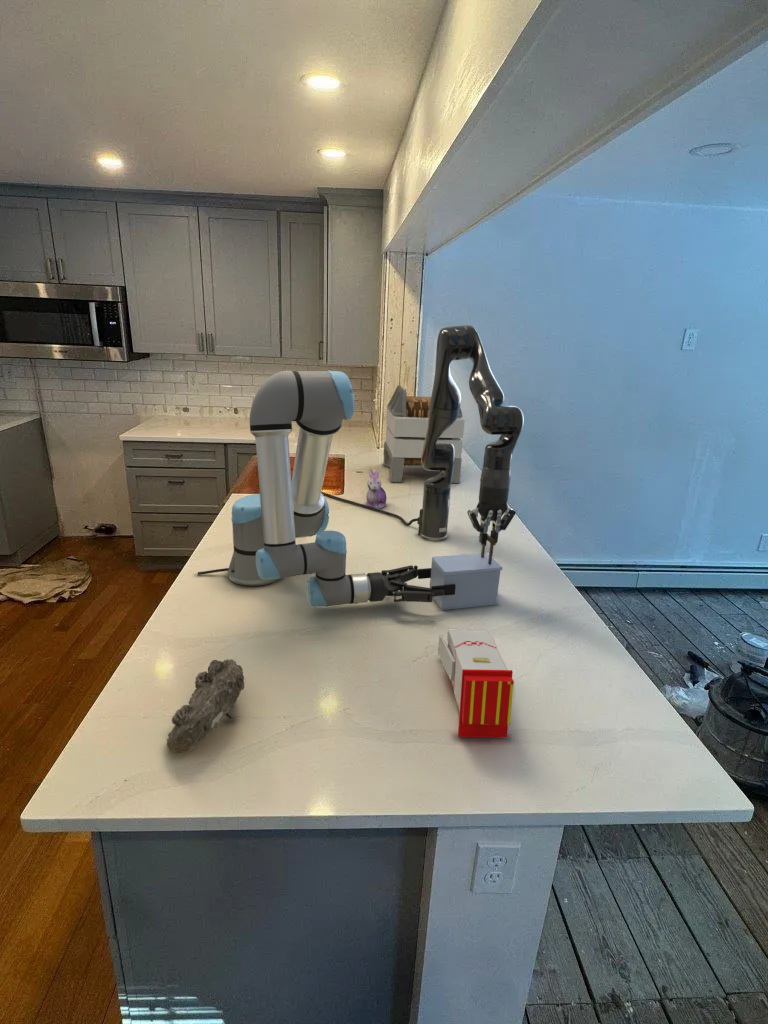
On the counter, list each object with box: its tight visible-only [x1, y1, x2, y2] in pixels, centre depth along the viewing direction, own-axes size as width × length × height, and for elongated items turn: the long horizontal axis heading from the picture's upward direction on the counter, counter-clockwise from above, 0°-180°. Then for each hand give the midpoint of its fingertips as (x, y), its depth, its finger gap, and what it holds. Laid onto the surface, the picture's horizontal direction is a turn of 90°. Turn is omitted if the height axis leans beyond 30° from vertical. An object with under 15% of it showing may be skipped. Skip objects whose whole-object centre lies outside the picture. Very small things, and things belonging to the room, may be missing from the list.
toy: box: [437, 628, 515, 738], centre depth 117 cm, size 12×13×30 cm
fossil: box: [166, 658, 245, 754], centre depth 106 cm, size 22×10×15 cm
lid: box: [431, 533, 503, 575], centre depth 152 cm, size 16×10×8 cm, turn 106°
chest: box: [429, 559, 501, 611], centre depth 155 cm, size 16×10×10 cm, turn 106°
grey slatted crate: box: [383, 384, 465, 484], centre depth 268 cm, size 34×33×41 cm
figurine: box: [365, 468, 387, 509], centre depth 224 cm, size 9×10×15 cm
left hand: (447, 580), depth 153 cm, fingers closed on chest, 10 cm apart
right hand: (487, 544), depth 153 cm, fingers closed
